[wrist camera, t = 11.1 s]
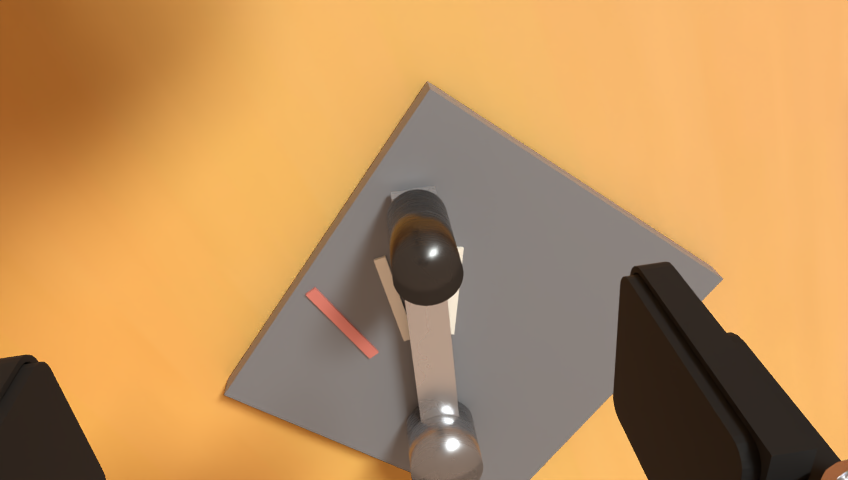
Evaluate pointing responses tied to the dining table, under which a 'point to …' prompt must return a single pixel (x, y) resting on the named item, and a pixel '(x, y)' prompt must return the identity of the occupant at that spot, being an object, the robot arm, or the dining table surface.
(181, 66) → the dining table surface
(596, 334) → the board
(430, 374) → the swing lever
